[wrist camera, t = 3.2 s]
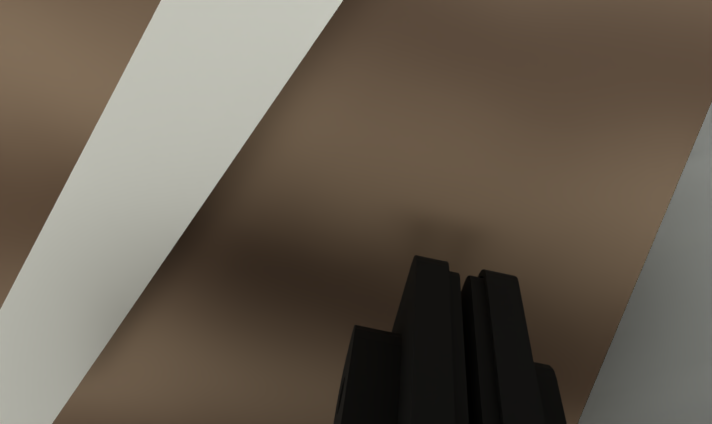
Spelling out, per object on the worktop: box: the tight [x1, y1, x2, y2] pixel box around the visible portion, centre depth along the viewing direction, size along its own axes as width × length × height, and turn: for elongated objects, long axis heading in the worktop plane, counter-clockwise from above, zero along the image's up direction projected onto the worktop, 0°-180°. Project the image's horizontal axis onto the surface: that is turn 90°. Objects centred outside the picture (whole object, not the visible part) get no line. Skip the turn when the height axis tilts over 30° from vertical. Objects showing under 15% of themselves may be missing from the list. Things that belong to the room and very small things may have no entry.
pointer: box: [0, 0, 343, 424], centre depth 9 cm, size 16×3×3 cm, turn 144°
